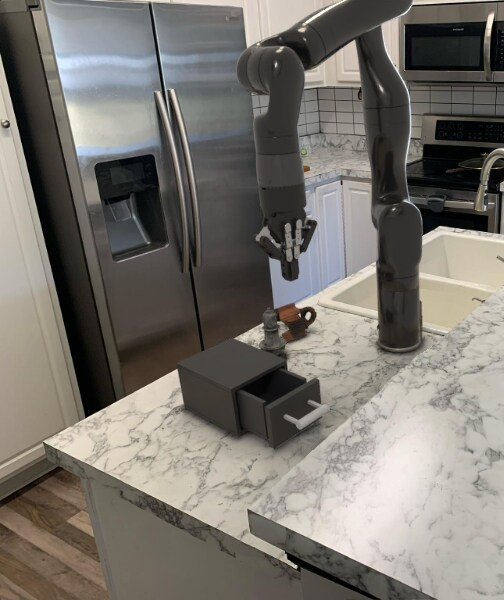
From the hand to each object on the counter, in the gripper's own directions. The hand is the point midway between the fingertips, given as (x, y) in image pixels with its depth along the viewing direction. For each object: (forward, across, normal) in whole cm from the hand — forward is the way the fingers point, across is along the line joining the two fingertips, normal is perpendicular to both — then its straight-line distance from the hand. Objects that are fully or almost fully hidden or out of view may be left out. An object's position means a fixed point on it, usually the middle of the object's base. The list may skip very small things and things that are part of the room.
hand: (291, 279), depth 105 cm
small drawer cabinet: (+25, +8, -9) cm, 28 cm away
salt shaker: (+25, -9, -18) cm, 32 cm away
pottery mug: (+25, -20, -24) cm, 40 cm away
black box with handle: (+24, +8, +2) cm, 25 cm away
